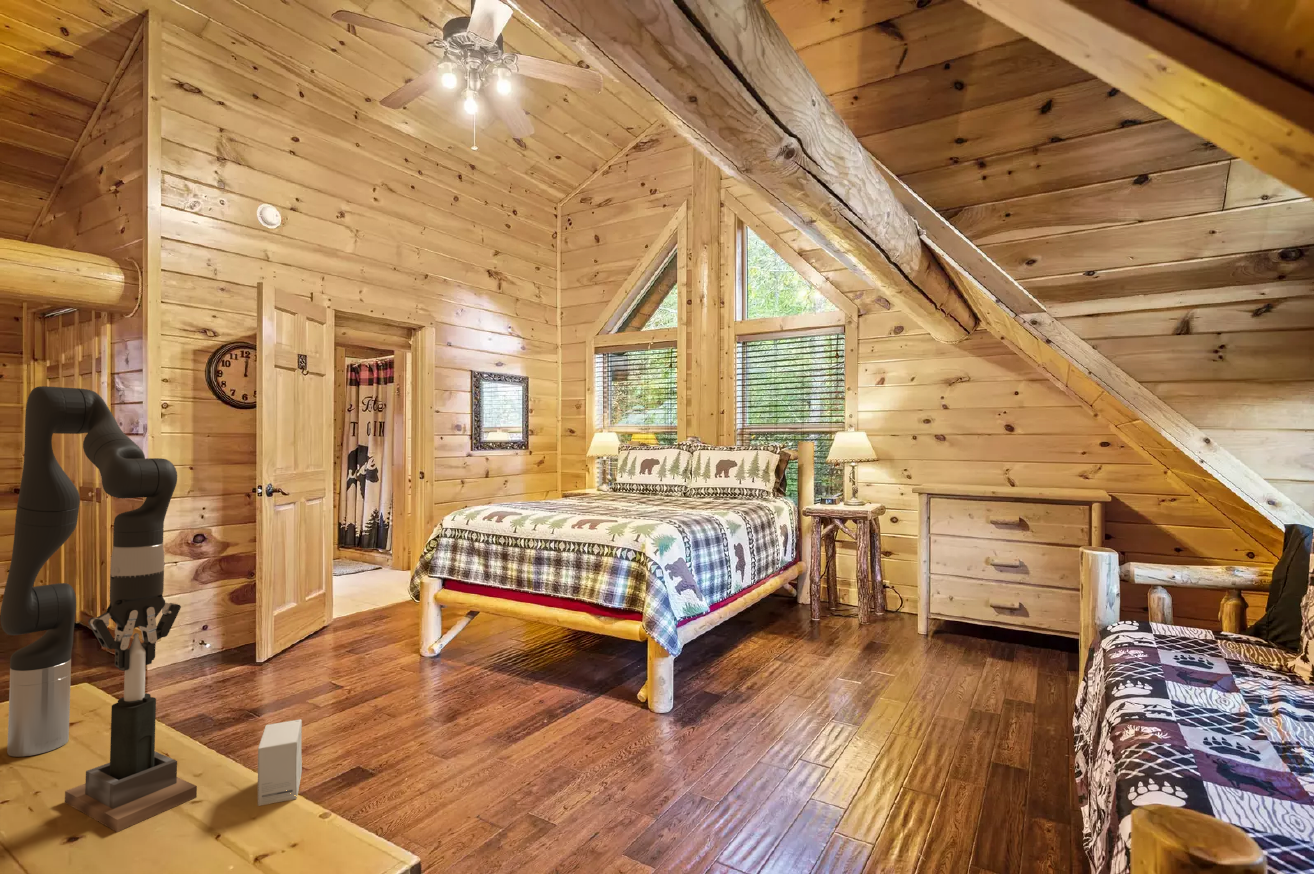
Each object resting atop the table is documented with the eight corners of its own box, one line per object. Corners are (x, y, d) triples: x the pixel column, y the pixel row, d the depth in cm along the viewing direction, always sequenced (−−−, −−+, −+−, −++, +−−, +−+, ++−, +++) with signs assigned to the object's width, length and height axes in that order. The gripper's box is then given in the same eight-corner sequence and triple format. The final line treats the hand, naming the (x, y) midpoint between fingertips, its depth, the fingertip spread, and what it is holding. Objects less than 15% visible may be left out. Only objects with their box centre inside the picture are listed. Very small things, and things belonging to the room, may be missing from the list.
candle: (129, 782, 113) (133, 638, 113) (105, 778, 114) (110, 635, 114) (157, 768, 118) (161, 630, 118) (134, 764, 119) (138, 627, 119)
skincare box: (263, 778, 124) (265, 723, 124) (302, 772, 127) (303, 718, 127) (255, 807, 114) (256, 747, 115) (296, 799, 117) (298, 740, 117)
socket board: (64, 802, 115) (65, 767, 115) (143, 772, 125) (144, 740, 125) (116, 831, 106) (118, 794, 106) (196, 797, 117) (197, 763, 117)
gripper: (170, 561, 124) (167, 652, 124) (78, 574, 112) (75, 674, 112) (192, 565, 121) (189, 659, 121) (100, 579, 108) (97, 683, 108)
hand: (134, 666), depth 116 cm, fingers closed on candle, 3 cm apart
